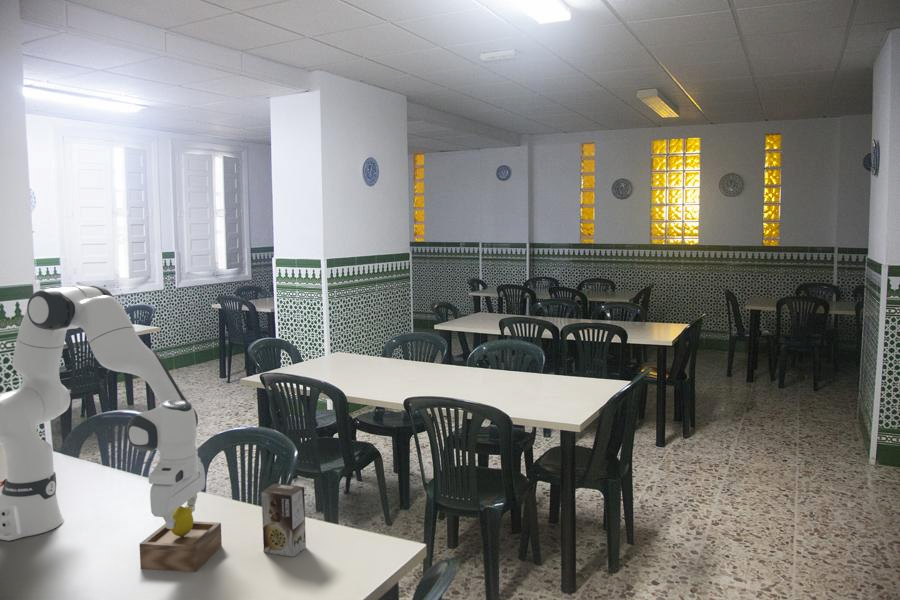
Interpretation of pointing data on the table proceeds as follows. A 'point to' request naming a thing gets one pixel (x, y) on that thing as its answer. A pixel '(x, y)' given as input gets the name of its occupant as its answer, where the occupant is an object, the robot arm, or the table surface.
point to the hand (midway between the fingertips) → (181, 519)
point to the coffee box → (283, 519)
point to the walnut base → (180, 548)
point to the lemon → (182, 521)
